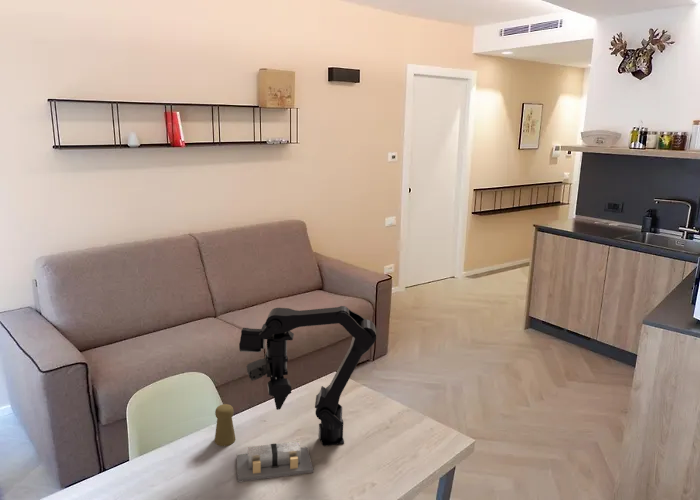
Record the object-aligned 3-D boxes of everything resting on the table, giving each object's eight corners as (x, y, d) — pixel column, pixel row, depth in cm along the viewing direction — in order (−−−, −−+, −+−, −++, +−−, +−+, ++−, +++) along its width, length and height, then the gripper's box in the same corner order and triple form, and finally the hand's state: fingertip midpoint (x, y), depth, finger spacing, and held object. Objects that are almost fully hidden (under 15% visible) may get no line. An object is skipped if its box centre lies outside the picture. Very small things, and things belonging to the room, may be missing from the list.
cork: (230, 447, 152) (229, 413, 149) (210, 444, 153) (209, 410, 150) (238, 435, 158) (238, 402, 155) (220, 432, 159) (219, 399, 156)
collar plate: (307, 449, 153) (307, 437, 152) (313, 472, 143) (313, 459, 142) (236, 457, 148) (236, 445, 147) (237, 481, 139) (237, 468, 138)
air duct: (298, 453, 149) (298, 440, 148) (300, 462, 145) (300, 450, 144) (247, 459, 146) (247, 446, 145) (248, 469, 142) (248, 455, 141)
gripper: (246, 340, 158) (247, 387, 162) (250, 369, 140) (250, 421, 145) (283, 337, 161) (283, 384, 165) (291, 366, 143) (291, 417, 147)
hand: (276, 400), depth 155 cm, fingers open, 9 cm apart
